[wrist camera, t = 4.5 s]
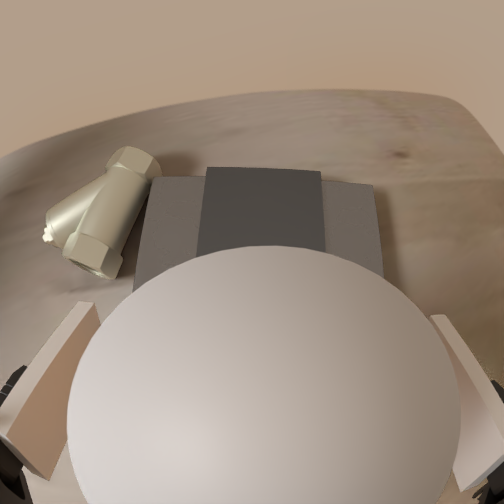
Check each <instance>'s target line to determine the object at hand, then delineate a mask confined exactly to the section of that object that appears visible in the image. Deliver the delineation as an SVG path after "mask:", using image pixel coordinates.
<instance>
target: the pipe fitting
mask: <svg viewBox="0 0 504 504" xmlns="http://www.w3.org/2000/svg"><path fill="white" fill-rule="evenodd" d="M105 169H106V173H105V174H103V175H101V176H100V177H98V178H96V179H95V180H93V181H91V182H90V183H88V184H87V185H85V186H83V187H82V188H80V189H79V190H77V191H76V192H74V193H72V194H71V195H69V196H68V197H66V198H65V199H63V200H62V201H60V202H59V203H57V204H56V205H55V206H53V207H52V208H50V209H49V210H47V212H46V216H45V219H46V225H45V227H44V231H45V232H44V233H43V239H44V241H45V242H46V243H47V244H48V245H50V244H52V245H53V246H55V247H60V248H61V249H63V251H62V253H61V254H62V255H63V257H64V258H65V259H66V260H68V261H69V262H71V263H73V264H74V265H76V266H78V267H80V268H82V269H84V270H86V271H88V272H90V273H92V274H94V275H97V276H99V277H102V278H105V279H108V280H112V279H116V276H117V274H118V271H119V269H120V266H121V264H122V261H123V258H122V256H121V255H120V254H121V252H122V249H123V247H124V245H125V243H126V240H127V238H128V236H129V233H130V231H131V229H132V227H133V225H134V223H135V220H136V218H137V216H138V214H139V212H140V210H141V208H142V206H143V204H144V201H145V199H146V197H147V195H148V193H150V190H151V186H152V181H153V177H162V175H163V174H162V171H161V168H160V165H159V164H158V162H157V161H156V160H155V159H154V158H153V157H152V156H151V155H150V154H148V153H146V152H145V151H143V150H141V149H138V148H135V147H131V146H124V147H122V148H120V149H118V150H117V151H116V152H114V153H113V155H112V157H111V158H110V160H109V162H108V163H107V165H106V167H105Z"/></svg>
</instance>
